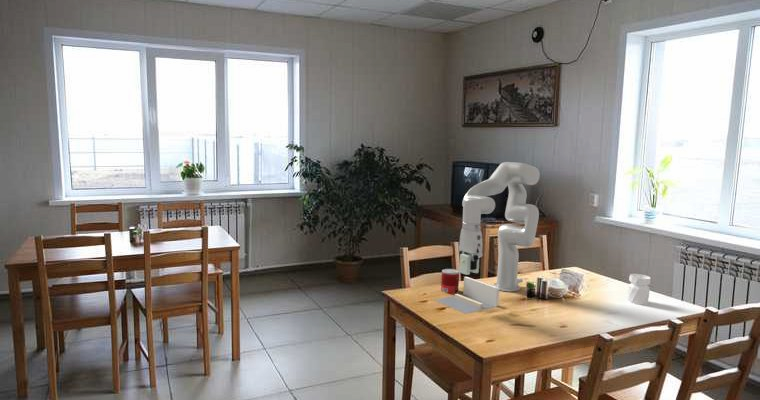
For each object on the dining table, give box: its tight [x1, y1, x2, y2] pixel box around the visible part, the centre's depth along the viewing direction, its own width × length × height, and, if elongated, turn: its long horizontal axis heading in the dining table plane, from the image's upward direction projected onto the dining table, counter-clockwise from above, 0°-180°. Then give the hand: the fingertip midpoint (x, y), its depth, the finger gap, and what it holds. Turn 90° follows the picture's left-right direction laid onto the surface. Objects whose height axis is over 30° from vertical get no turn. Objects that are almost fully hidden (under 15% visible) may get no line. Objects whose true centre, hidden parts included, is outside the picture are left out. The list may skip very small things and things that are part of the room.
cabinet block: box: [458, 253, 480, 276], centre depth 225 cm, size 8×4×8 cm, turn 124°
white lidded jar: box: [627, 273, 652, 306], centre depth 240 cm, size 9×9×12 cm
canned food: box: [440, 268, 460, 294], centre depth 243 cm, size 8×8×11 cm
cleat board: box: [434, 276, 500, 315], centre depth 226 cm, size 19×20×10 cm
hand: (469, 267), depth 226 cm, fingers closed on cabinet block, 4 cm apart
